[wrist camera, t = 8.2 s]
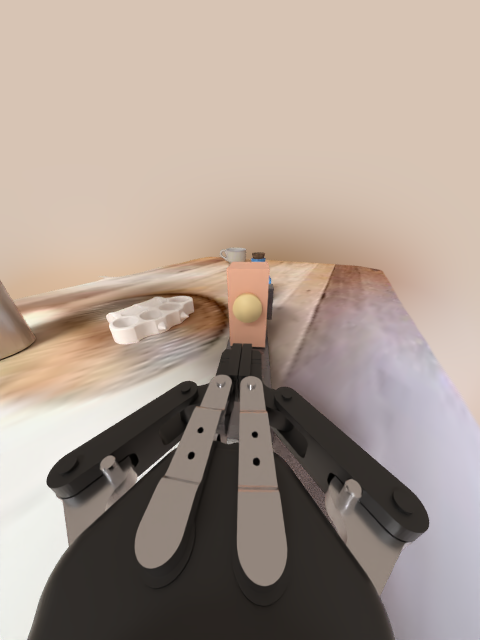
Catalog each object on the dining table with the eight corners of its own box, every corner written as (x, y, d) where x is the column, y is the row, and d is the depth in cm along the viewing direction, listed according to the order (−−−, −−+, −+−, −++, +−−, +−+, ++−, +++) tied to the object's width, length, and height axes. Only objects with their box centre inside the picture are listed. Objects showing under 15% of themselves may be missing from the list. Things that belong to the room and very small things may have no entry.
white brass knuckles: (165, 302, 50) (208, 313, 43) (92, 332, 36) (138, 354, 29) (163, 291, 48) (206, 300, 42) (85, 317, 34) (132, 336, 28)
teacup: (247, 262, 103) (247, 247, 100) (244, 266, 94) (244, 249, 90) (223, 262, 105) (222, 247, 102) (218, 265, 96) (217, 249, 92)
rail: (284, 443, 16) (295, 377, 13) (198, 435, 17) (185, 371, 13) (269, 321, 38) (272, 283, 34) (231, 320, 38) (230, 283, 35)
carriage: (265, 352, 25) (270, 271, 20) (229, 350, 25) (225, 270, 20) (264, 329, 30) (267, 261, 25) (234, 328, 31) (232, 261, 26)
